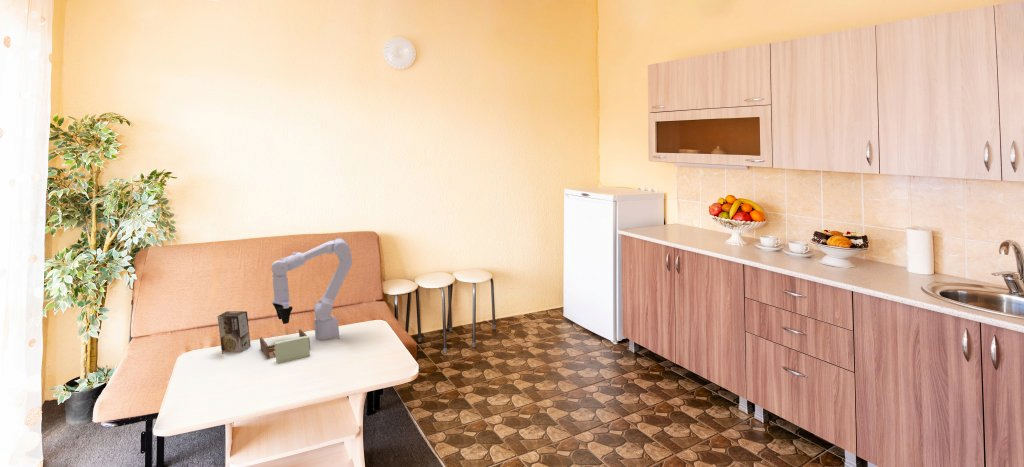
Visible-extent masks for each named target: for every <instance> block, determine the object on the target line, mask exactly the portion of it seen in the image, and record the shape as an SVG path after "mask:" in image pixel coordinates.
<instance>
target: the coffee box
mask: <svg viewBox="0 0 1024 467" xmlns="http://www.w3.org/2000/svg"><path fill="white" fill-rule="evenodd" d="M217 323H218V324H217V325H218V331H219V340H220V348H221V354H222V355H223V354H224V353H243V352H244V351H247V350H248V349H250V348H251V347H252V346H251V345H252V344H251V336H250V328H249V327H250V326H249V317H248V311H243V310H242V311H234V310H233V311H229V310H228V311H227V310H226V311H224V312H223V313H221V314H219V315H218V316H217Z"/></svg>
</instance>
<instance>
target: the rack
mask: <svg viewBox="0 0 1024 467" xmlns="http://www.w3.org/2000/svg"><path fill="white" fill-rule="evenodd" d="M303 336H308V335H307V334H306V333H305V332H304V331H303V330H302V329H301V328H300V329H298V337H303ZM259 344H260V345H259V346H260V350H261V352H262V353H263V355H264V356H265V359H266V360H271V359H274V358H275V359H276V357H275V356H274V354H273V351H274V348H275V344H271V345H268V344H267V342H266V341H265V339H264V338H263V337H262V336H260V337H259ZM309 349H310V350H311V344H310V341H309Z"/></svg>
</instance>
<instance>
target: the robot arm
mask: <svg viewBox="0 0 1024 467" xmlns="http://www.w3.org/2000/svg"><path fill="white" fill-rule="evenodd" d="M333 253H334V254H335V255H336V257H337V259H338V262H339V263H338V266H337V267H336V269H335V271H334V273H333V275H332V276H331V280H330V282H329V284H328V286H327V287H326V290H325V291H324V293H323V295H322V296H321V297H320V299H319V301H318V302H317V303H315V305H314V306H313V312H314V315H315V317H314V318H313V323H314V324H313V325H314V326H313V327H314V336H315V339H316V340H319V341H323V340H330V339H333V338H336V339H341V337H340V330H339V327H340V326H339V320H338V317H336V316H332V309H333V307H334V303H335V302H334V301H335V300H336V297H337V296H338V293H339V291H340V289H341V287H342V285H343V283H344V281H345V280H346V277H347V275H348V273H349V271H350V269H351V267H352V266H353V259H352V250H351V248H350V246H349V244H348V243H347V241H346V240H345V239H343V238H339V237H338V238H335V239H334V240H333V239H332V240H329V241H326V242H324V243H322V244H319V245H318V246H316V247H313V248H312V249H310V250H307V251H305V252H299V251H297V252H295V251H294V252H292V254H291V255H288V256H286V257H281V258H280V259H277V260H275V261H273V263H272V264H271V268H270V269H271V271H272V272H271V273H272V287H273V289H272V290H273V297H274V298H273V299H274V300H271V302H270V303H271V304H272V305H273V307H274V310H275V311H276V315H277V318H278V320H281V322H282V324H283V325H287V324H289V323H290V320H291V319H290V318H291V313H292V310H293V309H294V307H293V306H290V304H289V303H290V302H291V299H290V292H289V291H290V289H289V280H288V275H287V273H288V272H290V271H291V272H292V271H293V270H295V269H297V268H300V267H302V266H304V265H306V262H307V261H308V260H311V259H313V258H316V257H319V256H321V255H324V254H329V255H333Z"/></svg>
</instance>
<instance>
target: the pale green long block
mask: <svg viewBox="0 0 1024 467" xmlns="http://www.w3.org/2000/svg"><path fill="white" fill-rule="evenodd" d="M309 342H310V337H309V336H308V335H307V336H303V337H299V336H297V337H295V338H289V339H285V340H281V341H280V340H279V341H276V342H274V345H275V353H276V357H275V360H276V363H277V364H280V363H284V362H289V361H292V360H296V359H301V358H306V357H310V356H311V351H310V350H311V348H310V349H309Z"/></svg>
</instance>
